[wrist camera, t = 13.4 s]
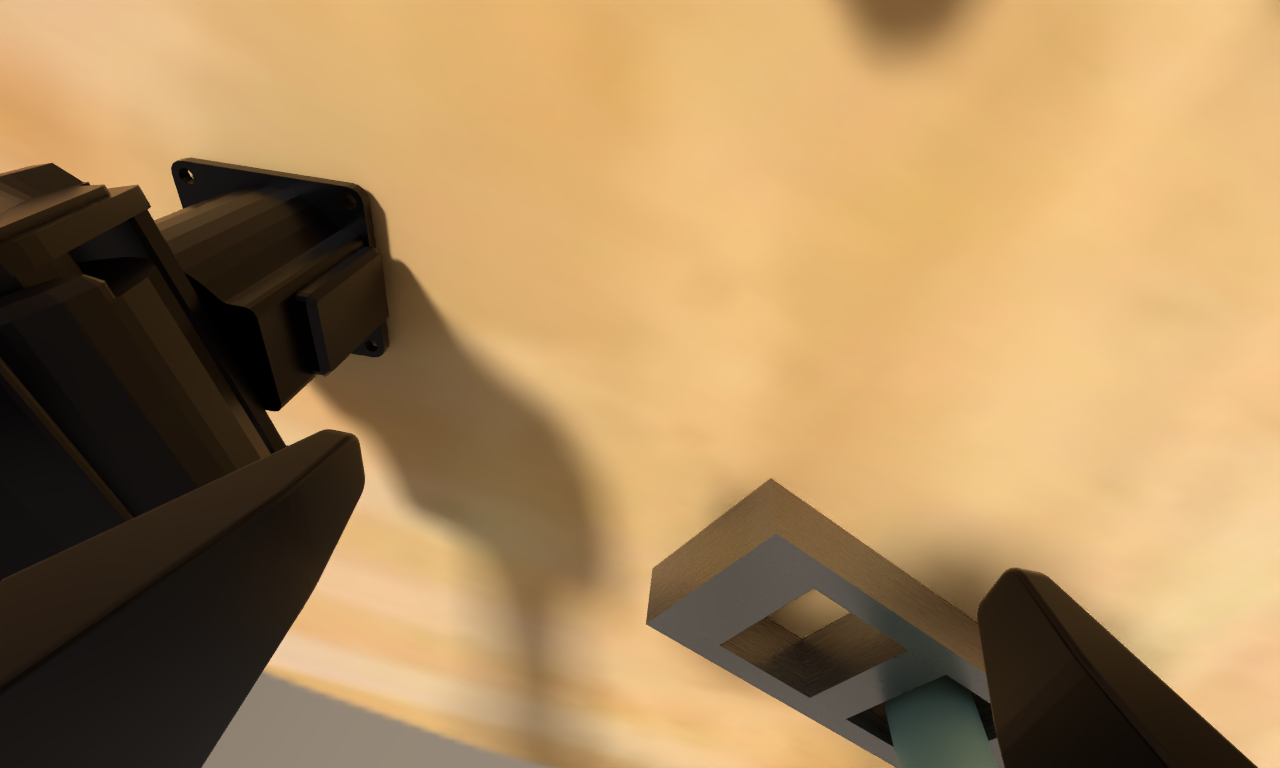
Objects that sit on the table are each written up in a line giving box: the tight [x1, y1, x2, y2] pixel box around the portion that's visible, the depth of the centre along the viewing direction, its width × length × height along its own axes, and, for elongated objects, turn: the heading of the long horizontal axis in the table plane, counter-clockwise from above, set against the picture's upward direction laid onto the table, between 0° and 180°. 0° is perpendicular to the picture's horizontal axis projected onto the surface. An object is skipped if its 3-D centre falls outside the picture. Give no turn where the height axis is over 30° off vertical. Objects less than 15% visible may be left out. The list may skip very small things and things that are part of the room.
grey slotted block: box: [646, 479, 1004, 768], centre depth 28 cm, size 20×8×3 cm, turn 53°
